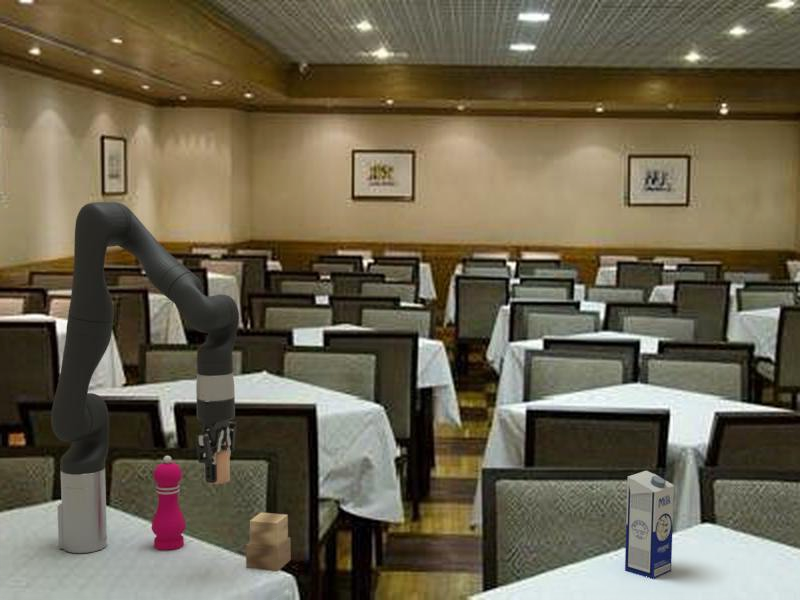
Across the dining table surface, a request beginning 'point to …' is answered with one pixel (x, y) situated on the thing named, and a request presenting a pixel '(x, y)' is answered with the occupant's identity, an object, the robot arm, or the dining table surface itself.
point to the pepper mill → (168, 507)
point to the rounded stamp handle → (222, 466)
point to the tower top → (268, 529)
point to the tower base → (268, 556)
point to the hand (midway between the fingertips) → (217, 478)
